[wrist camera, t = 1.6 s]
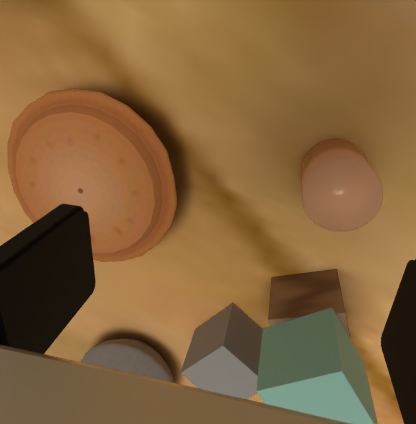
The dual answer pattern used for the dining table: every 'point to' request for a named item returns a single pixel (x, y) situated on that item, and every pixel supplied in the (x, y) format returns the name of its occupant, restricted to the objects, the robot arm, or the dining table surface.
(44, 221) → the robot arm
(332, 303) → the block
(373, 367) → the dining table surface
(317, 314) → the tower top
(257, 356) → the block
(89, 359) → the coffee pot
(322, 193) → the pink rounded piece
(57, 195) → the pie
